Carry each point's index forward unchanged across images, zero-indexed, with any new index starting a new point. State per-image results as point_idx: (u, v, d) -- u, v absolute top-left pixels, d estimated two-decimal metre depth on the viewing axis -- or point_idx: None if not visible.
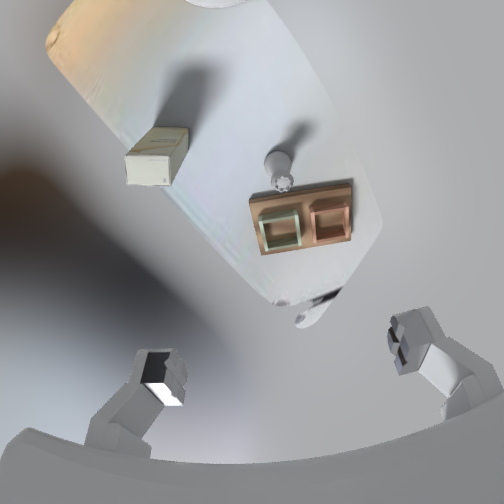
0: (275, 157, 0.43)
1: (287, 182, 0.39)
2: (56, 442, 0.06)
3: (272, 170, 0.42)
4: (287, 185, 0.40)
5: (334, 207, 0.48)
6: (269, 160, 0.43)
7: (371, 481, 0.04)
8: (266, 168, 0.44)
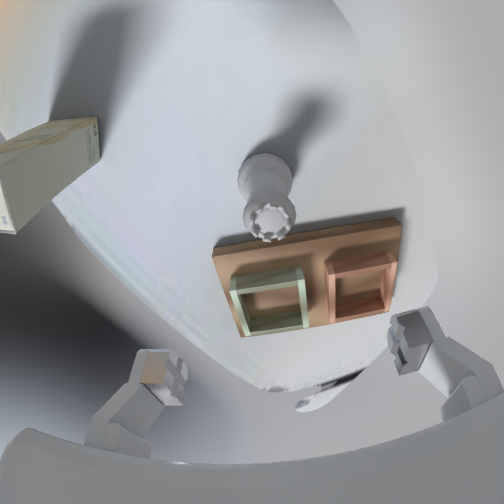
0: (259, 164, 0.21)
1: (281, 218, 0.17)
2: (56, 442, 0.06)
3: (250, 191, 0.20)
4: (281, 226, 0.17)
5: (371, 264, 0.25)
6: (246, 170, 0.21)
7: (371, 481, 0.04)
8: (241, 188, 0.22)
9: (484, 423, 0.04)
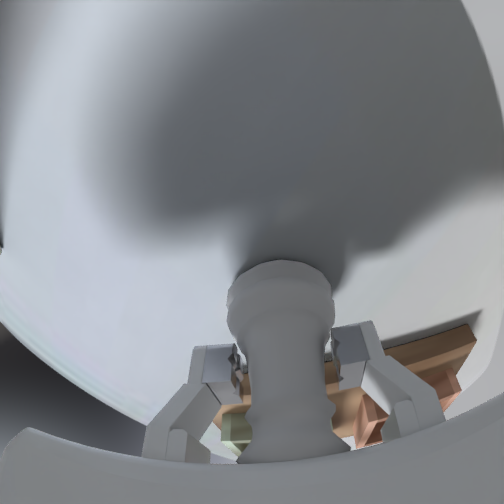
0: (271, 298, 0.10)
1: None
2: (56, 442, 0.06)
3: (252, 373, 0.09)
4: None
5: None
6: (243, 307, 0.10)
7: (371, 481, 0.04)
8: (233, 332, 0.11)
9: (484, 423, 0.04)
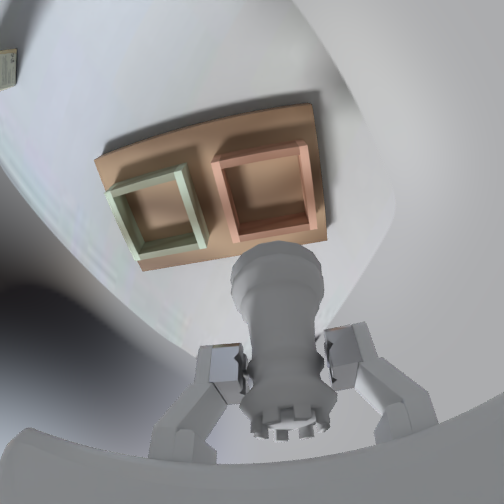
0: (269, 270, 0.12)
1: (311, 418, 0.08)
2: (56, 442, 0.06)
3: (253, 332, 0.11)
4: (309, 423, 0.08)
5: (270, 149, 0.19)
6: (245, 279, 0.12)
7: (371, 481, 0.04)
8: (236, 302, 0.13)
9: (484, 423, 0.04)
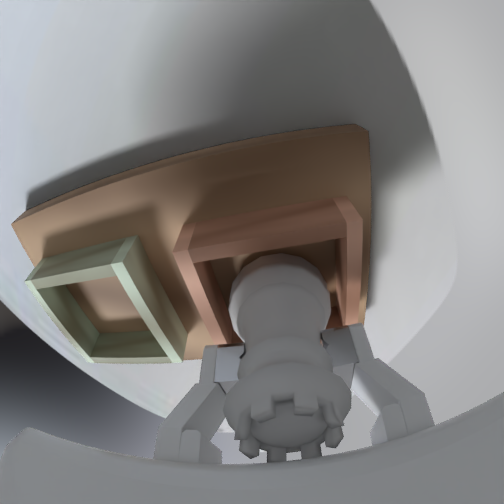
0: (270, 276, 0.11)
1: (318, 425, 0.06)
2: (56, 442, 0.06)
3: (248, 336, 0.09)
4: (315, 436, 0.06)
5: (288, 226, 0.10)
6: (244, 286, 0.11)
7: (371, 481, 0.04)
8: (233, 319, 0.11)
9: (484, 423, 0.04)
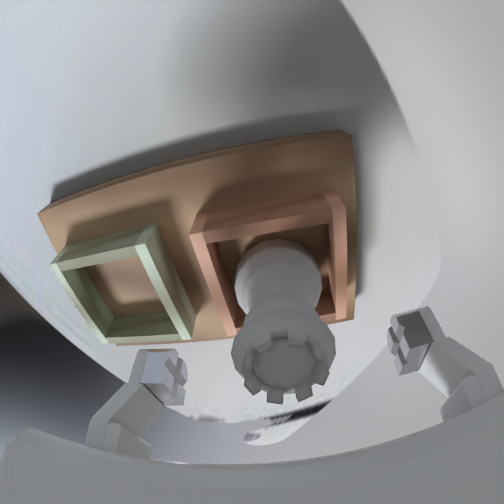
0: (270, 256, 0.13)
1: (308, 362, 0.08)
2: (56, 442, 0.06)
3: (252, 302, 0.11)
4: (306, 375, 0.08)
5: (285, 213, 0.12)
6: (248, 265, 0.13)
7: (371, 481, 0.04)
8: (238, 294, 0.14)
9: (484, 423, 0.04)
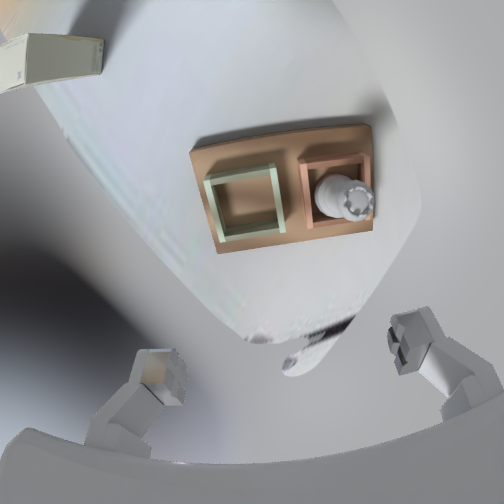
0: (335, 177, 0.25)
1: (366, 200, 0.20)
2: (56, 442, 0.06)
3: (333, 191, 0.24)
4: (366, 206, 0.20)
5: (343, 157, 0.25)
6: (325, 182, 0.26)
7: (371, 481, 0.04)
8: (320, 197, 0.26)
9: (484, 423, 0.04)
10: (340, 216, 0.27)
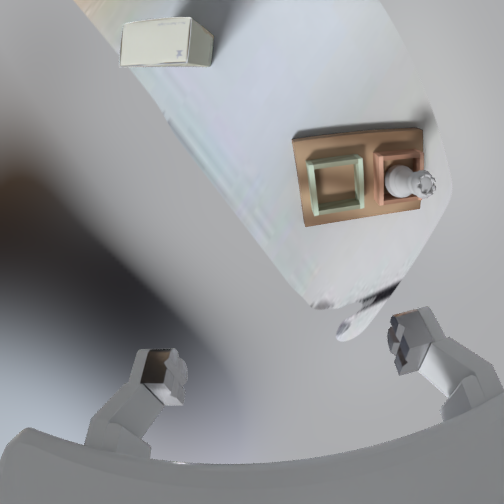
0: (401, 167, 0.31)
1: (430, 183, 0.26)
2: (56, 442, 0.06)
3: (404, 177, 0.30)
4: (430, 188, 0.27)
5: (406, 153, 0.31)
6: (394, 170, 0.32)
7: (371, 481, 0.04)
8: (390, 181, 0.32)
9: (484, 423, 0.04)
10: (404, 196, 0.33)
